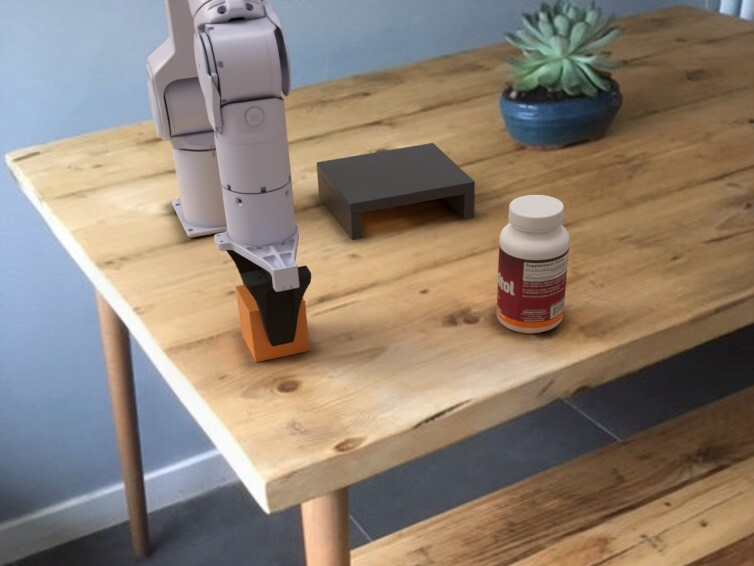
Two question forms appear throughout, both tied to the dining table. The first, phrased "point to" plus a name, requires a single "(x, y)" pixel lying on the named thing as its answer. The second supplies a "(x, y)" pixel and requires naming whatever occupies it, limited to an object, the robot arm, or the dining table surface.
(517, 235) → the pill bottle
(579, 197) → the dining table surface
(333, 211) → the shelf
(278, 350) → the cube
